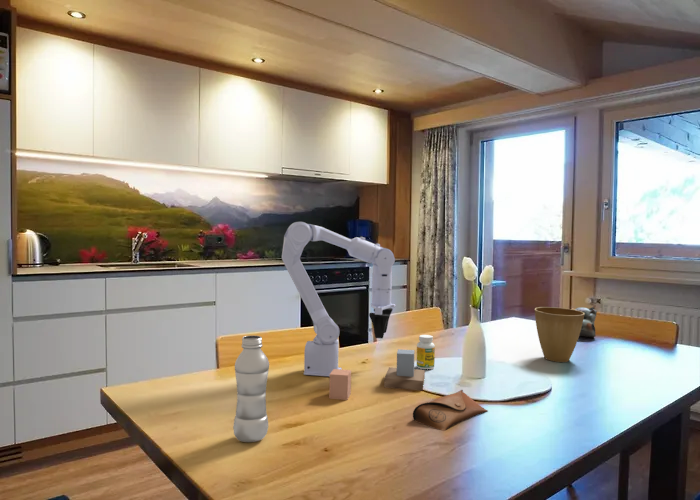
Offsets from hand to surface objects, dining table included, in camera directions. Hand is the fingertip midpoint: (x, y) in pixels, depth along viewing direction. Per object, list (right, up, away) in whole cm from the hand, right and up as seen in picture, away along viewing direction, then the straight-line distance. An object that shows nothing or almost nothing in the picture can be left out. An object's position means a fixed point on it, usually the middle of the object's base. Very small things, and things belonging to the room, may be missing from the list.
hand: (380, 335), depth 141 cm
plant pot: (+59, -11, +16) cm, 62 cm away
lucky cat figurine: (+82, -10, +52) cm, 98 cm away
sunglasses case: (+14, -13, -33) cm, 38 cm away
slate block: (+6, -9, -11) cm, 15 cm away
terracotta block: (-11, -11, -22) cm, 27 cm away
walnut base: (+6, -12, -11) cm, 17 cm away
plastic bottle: (-28, -12, -47) cm, 56 cm away
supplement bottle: (+14, -11, +4) cm, 18 cm away
